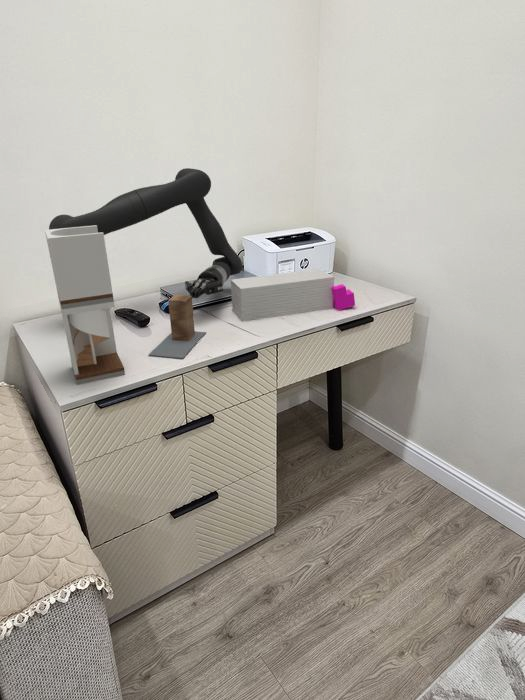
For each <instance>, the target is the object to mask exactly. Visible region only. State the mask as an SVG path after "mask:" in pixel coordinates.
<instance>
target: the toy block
mask: <svg viewBox="0 0 525 700" xmlns="http://www.w3.org/2000/svg"><path fill="white" fill-rule="evenodd" d="M333 286H334V287H332V294H333V309H335V310H336V311H341V310H345V309H348V308H351V307H355V306H356V301H355V300H356V299H355V294H354V291H352V290H351V289H350V288H348V289H347V288H346V285H344V284H342V283H341V284H338V285H335V284H334V285H333Z"/></svg>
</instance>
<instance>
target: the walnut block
mask: <svg viewBox="0 0 525 700" xmlns="http://www.w3.org/2000/svg"><path fill="white" fill-rule="evenodd" d="M167 302H168V312H169V320H170V322H169V323H170V331H171V333H172V340H178V341H190V339H191V338H192V337H193V336H194V335H195V330H196V329H195V320H194V319H195V317H194V306H193V305H194V304H193V298H192V296H190V294H188V295H186V294H173V296H172V297H170V298H169V299H168V300H167Z"/></svg>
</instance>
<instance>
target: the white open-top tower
mask: <svg viewBox="0 0 525 700" xmlns="http://www.w3.org/2000/svg"><path fill="white" fill-rule="evenodd" d="M44 234H45V238H46V243H47V247H48V252H49V258H50V264H51V268H52V272H53V276H54V281H55V287H56V292H57V298H58V301H59V302H58V303H59V306H60V313H61V316H62V321H63V326H64V327H63V328H64V332H65V337H66V341H67V346H68V351H69V356H70V362H71V366H72V371H73V375H74V378H75V382H76V385H82V384H87V383H91V382H96V381H102V380H105V379H111V378H116V377H119V376H120V377H121V376H124V375H126V372H125V367H124V365H123V362H122V360H121V358H120V356H119V353H118V350H117V345H116V339H115V338H116V337H115V332H114V326H113V320H112V319H113V318H112V314H111V313H112V312H111V309H113V308H115V301H114V293H113V286H112V280H111V279H112V278H111V273H110V267H109V260H108V254H107V248H106V247H107V246H106V240H105V235H104V233H103V232H101V233H98V229H97V225H94V226H83V227H72V228H61V229H50V230H49V229H45V230H44Z"/></svg>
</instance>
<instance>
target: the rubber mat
mask: <svg viewBox="0 0 525 700" xmlns="http://www.w3.org/2000/svg"><path fill="white" fill-rule="evenodd" d="M206 334H207V332H206V331H197V330H196V331H195V335H194V336H193V337H192V338H191V339H190V341H178V340H172V332H171V333H169V335H167V336H166V337H165V338H164V339H163V340H162V341H161V342H160V343H159V344H158V345H157V346H156V347H155V348H154V349H152V351H151V352H149V353H148V354H147V355H148V357H153V356H154V357H153V358H155V357H156V358H164V359H165V358H166V359H176V360H184V359H185V358H186V357H187V356H186V355H189V353H190V352H191V351H192V350H193V349H194V348H195V347H196V345H197V344H198V343H199V342H200V341H201V340H202V339H201V338H204V337H205V335H206ZM200 339H201V340H200ZM199 340H200V341H199ZM198 341H199V342H198ZM197 342H198V343H197ZM194 346H195V347H194ZM193 347H194V348H193ZM192 348H193V349H192ZM185 356H186V357H185Z"/></svg>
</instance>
